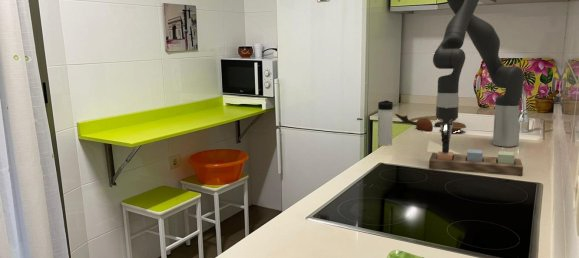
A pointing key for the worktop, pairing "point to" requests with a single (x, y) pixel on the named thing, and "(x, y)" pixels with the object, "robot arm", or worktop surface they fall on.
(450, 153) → the terracotta button
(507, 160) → the sage green button
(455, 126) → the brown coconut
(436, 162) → the button panel
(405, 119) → the tree branch
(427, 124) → the potato
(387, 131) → the travel mug
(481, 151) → the slate blue button
